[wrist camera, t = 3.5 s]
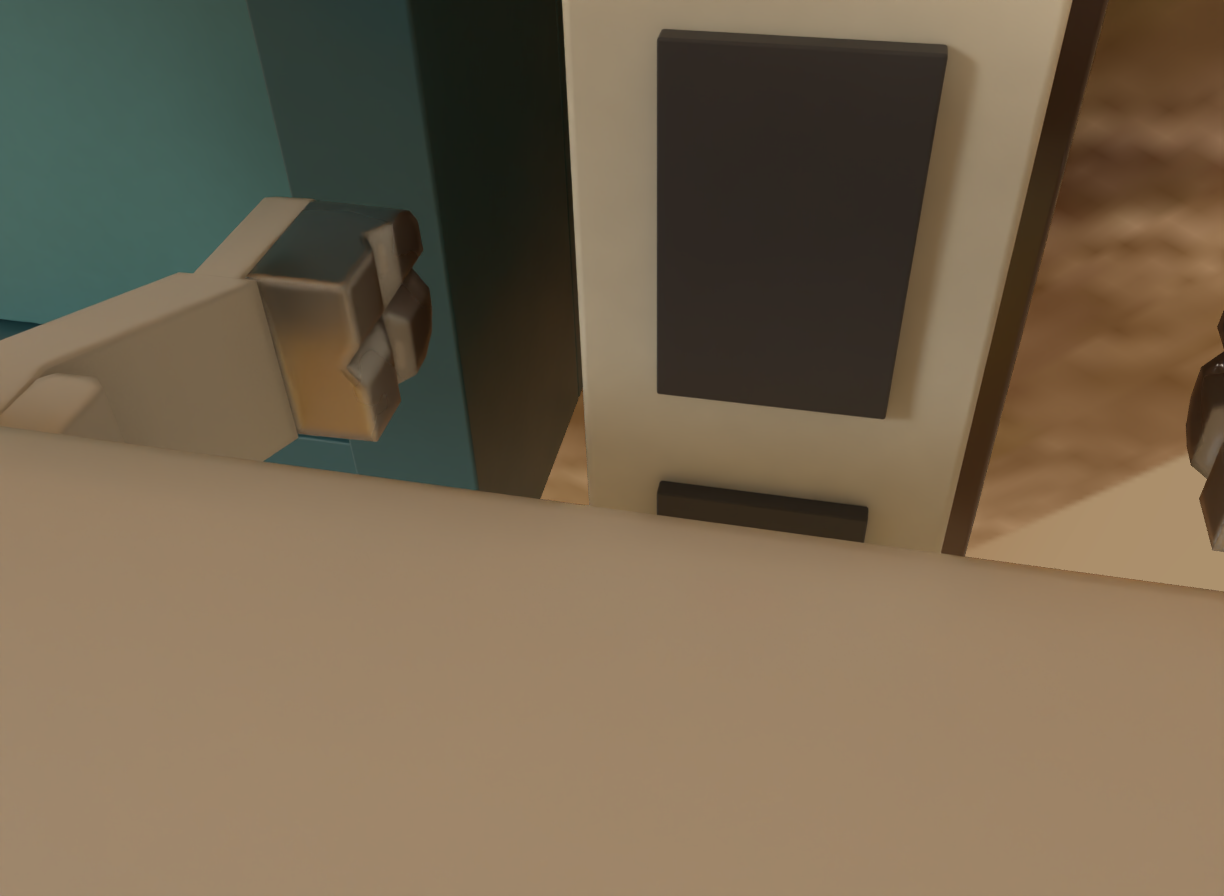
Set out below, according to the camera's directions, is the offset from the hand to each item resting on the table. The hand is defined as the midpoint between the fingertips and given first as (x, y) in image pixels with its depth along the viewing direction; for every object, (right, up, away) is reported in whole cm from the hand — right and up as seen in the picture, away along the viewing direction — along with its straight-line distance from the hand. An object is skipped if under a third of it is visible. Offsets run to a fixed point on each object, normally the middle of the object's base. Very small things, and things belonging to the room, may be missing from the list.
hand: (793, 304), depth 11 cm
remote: (0, +1, +1) cm, 1 cm away
